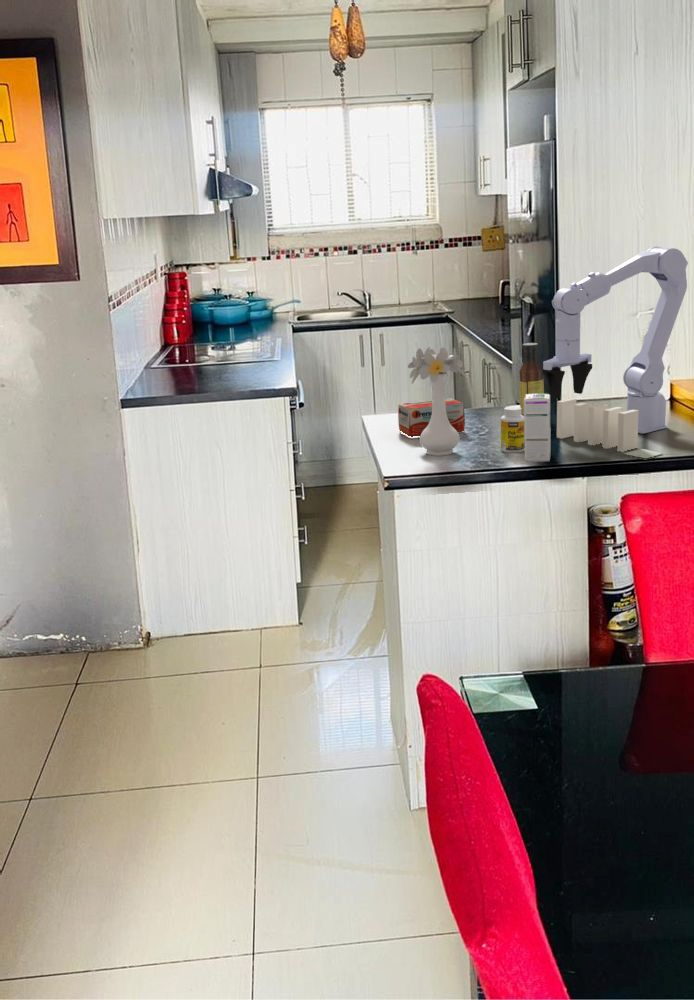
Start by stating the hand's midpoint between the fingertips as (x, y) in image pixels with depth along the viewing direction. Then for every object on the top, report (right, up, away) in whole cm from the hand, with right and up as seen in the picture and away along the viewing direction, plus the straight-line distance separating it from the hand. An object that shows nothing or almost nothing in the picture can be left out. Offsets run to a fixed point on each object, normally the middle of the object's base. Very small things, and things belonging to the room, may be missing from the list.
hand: (567, 395), depth 256 cm
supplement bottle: (-14, -14, -8) cm, 22 cm away
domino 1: (0, -10, +3) cm, 10 cm away
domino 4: (+9, -13, -9) cm, 18 cm away
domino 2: (+4, -11, -1) cm, 12 cm away
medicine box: (-32, -9, +13) cm, 35 cm away
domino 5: (+11, -14, -12) cm, 22 cm away
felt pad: (+14, -15, -17) cm, 27 cm away
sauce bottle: (-5, -4, +23) cm, 24 cm away
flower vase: (-32, -14, -7) cm, 36 cm away
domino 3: (+6, -12, -5) cm, 14 cm away
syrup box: (-10, -16, -16) cm, 25 cm away
